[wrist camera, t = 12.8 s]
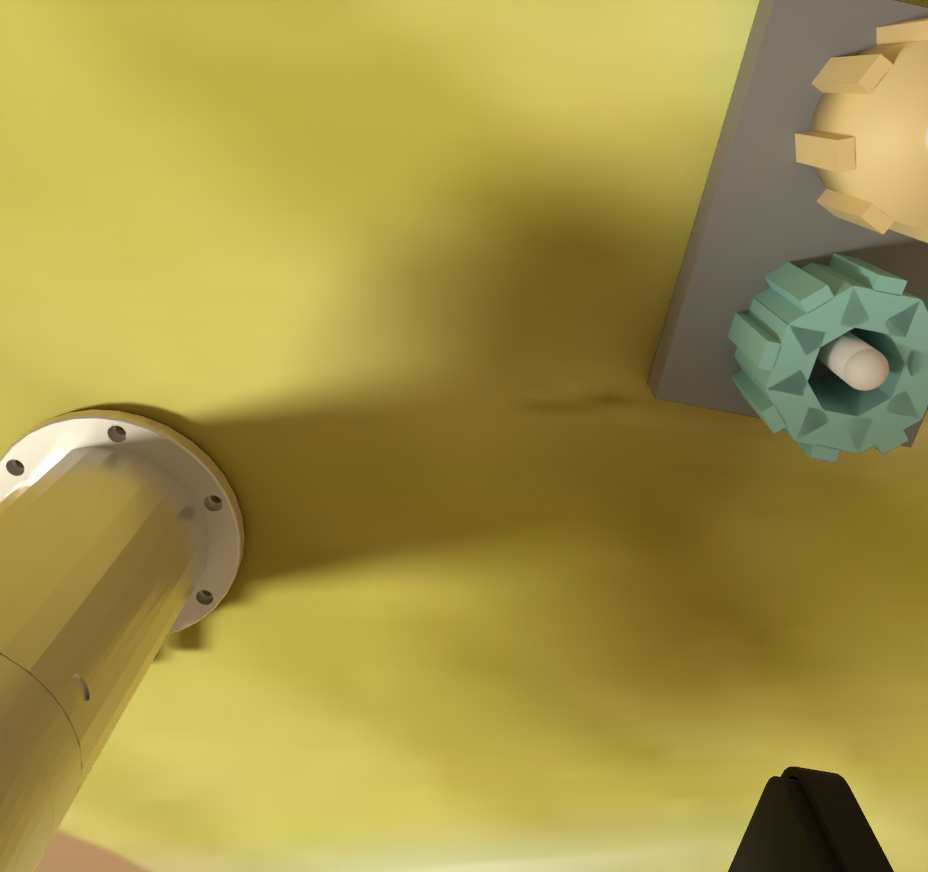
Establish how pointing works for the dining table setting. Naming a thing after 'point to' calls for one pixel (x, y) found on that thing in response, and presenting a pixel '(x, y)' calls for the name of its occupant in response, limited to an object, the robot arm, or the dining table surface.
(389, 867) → the dining table surface
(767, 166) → the gear board
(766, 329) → the teal gear
